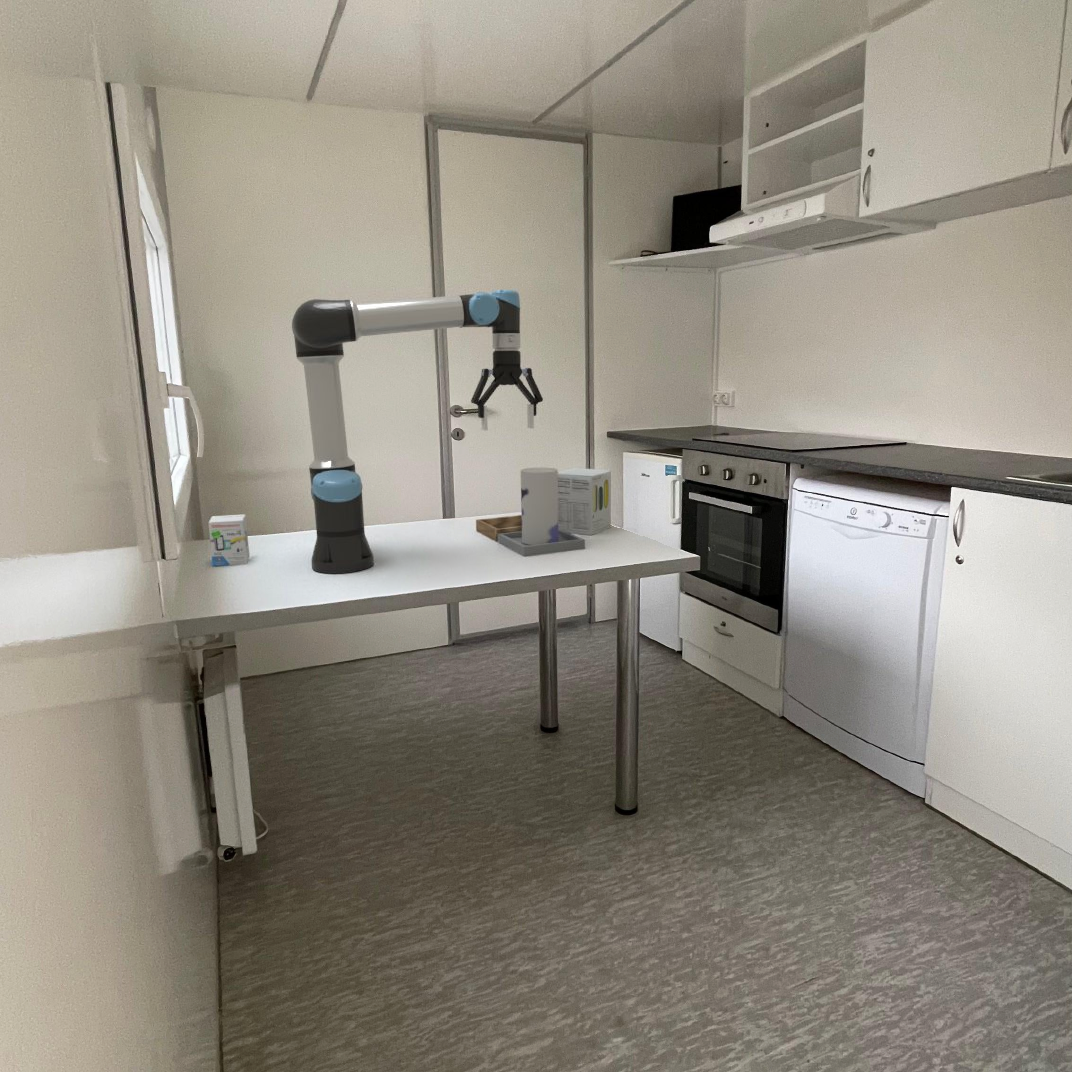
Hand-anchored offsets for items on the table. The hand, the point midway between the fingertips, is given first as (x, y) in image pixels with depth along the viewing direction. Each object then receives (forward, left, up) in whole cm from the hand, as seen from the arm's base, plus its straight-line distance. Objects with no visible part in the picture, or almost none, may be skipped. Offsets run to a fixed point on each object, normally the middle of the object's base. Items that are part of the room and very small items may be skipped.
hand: (507, 429), depth 215 cm
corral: (+3, +7, -31) cm, 32 cm away
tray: (+4, -11, -31) cm, 33 cm away
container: (+4, -11, -30) cm, 33 cm away
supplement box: (+24, +2, -32) cm, 40 cm away
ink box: (-74, +12, -32) cm, 81 cm away
